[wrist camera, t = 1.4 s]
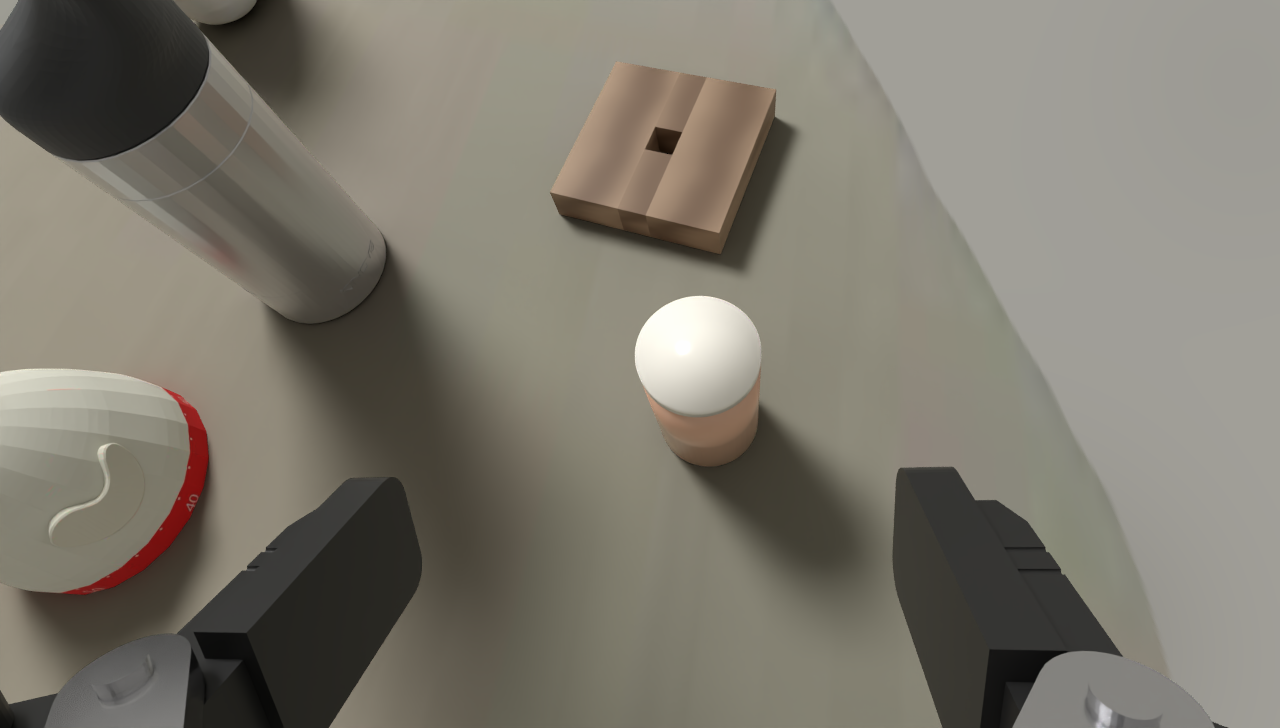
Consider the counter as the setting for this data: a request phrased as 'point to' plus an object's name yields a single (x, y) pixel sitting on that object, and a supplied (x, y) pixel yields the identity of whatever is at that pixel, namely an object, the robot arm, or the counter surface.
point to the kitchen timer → (92, 477)
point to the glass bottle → (215, 10)
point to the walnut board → (666, 155)
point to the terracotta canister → (702, 378)
